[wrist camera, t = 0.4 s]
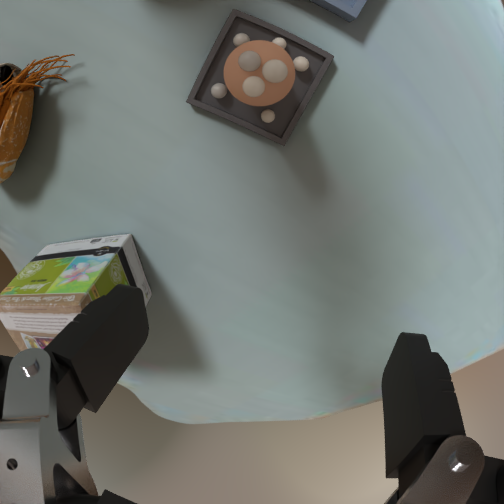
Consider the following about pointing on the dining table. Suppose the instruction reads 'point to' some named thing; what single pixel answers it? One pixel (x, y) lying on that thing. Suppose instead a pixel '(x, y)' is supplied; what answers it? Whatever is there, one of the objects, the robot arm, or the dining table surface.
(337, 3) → the shallow square tray
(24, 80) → the nautilus
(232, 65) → the tan rounded pillar
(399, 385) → the robot arm
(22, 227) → the dining table surface
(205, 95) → the parts tray
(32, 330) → the tea box
